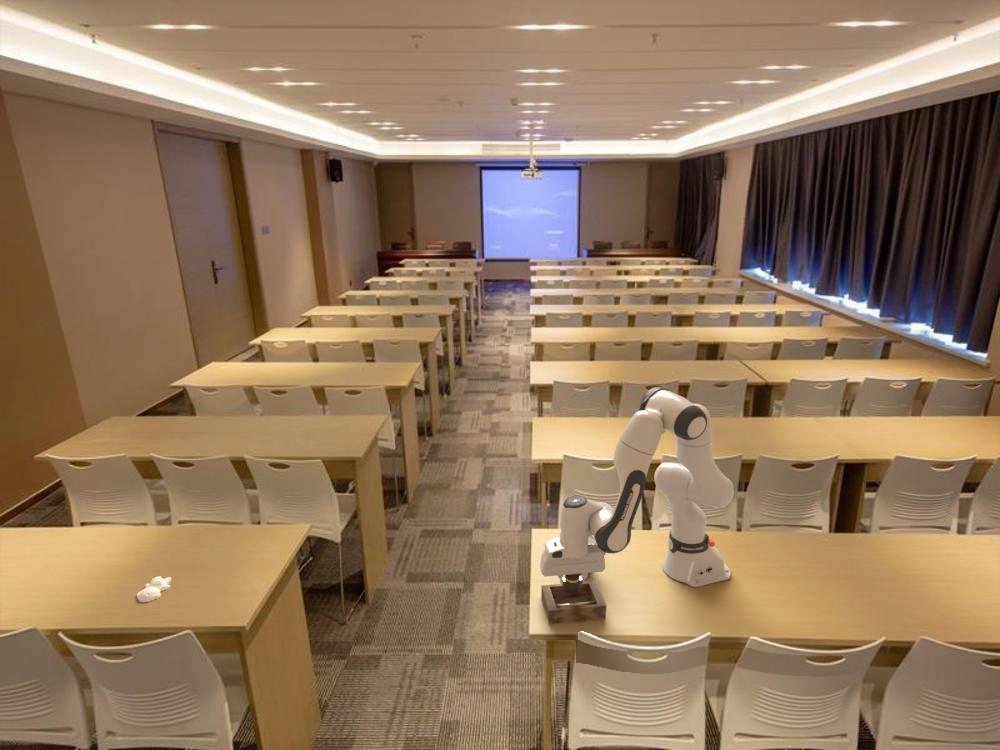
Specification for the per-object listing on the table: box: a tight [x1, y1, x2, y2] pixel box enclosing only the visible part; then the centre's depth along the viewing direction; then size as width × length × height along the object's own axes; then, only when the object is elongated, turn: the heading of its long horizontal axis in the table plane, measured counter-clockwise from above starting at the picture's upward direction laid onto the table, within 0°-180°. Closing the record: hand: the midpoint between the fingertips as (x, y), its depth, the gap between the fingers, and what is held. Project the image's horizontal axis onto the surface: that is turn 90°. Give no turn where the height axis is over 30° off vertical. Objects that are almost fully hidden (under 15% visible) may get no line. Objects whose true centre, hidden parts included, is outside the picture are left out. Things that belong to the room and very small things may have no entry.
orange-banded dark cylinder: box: [564, 574, 580, 592], centre depth 191 cm, size 4×4×5 cm
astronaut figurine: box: [136, 575, 172, 603], centre depth 202 cm, size 9×12×3 cm
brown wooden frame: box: [540, 580, 607, 625], centre depth 192 cm, size 18×12×5 cm, turn 97°
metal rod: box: [555, 600, 596, 608], centre depth 189 cm, size 15×1×1 cm, turn 97°
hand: (572, 583), depth 191 cm, fingers closed on orange-banded dark cylinder, 4 cm apart
